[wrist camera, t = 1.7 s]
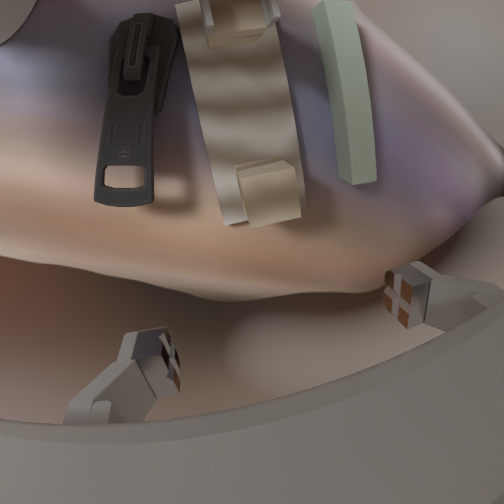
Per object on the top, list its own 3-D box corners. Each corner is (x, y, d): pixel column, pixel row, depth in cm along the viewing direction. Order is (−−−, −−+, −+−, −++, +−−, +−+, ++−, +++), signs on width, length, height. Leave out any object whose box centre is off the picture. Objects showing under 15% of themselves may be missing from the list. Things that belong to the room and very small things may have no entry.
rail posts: (175, 8, 27) (164, -32, 16) (264, -6, 28) (290, -47, 16) (224, 221, 42) (232, 267, 31) (304, 203, 43) (339, 240, 32)
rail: (310, 10, 30) (323, 0, 25) (336, 10, 30) (351, 1, 25) (337, 176, 42) (352, 185, 38) (360, 172, 42) (376, 181, 38)
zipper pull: (89, 207, 32) (103, 7, 21) (104, 192, 38) (118, 21, 27) (157, 209, 33) (178, 2, 22) (164, 193, 39) (182, 18, 28)
